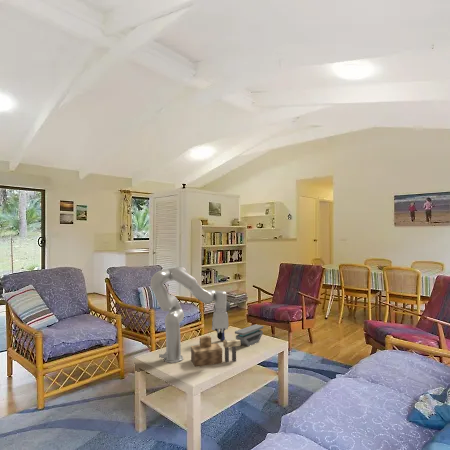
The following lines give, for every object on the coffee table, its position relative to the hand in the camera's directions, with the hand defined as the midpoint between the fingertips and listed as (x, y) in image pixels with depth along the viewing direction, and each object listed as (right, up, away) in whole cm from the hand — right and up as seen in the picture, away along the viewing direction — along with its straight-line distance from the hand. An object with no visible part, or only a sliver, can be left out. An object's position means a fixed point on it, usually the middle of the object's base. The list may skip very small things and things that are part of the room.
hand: (219, 338), depth 220 cm
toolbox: (-4, -15, +3) cm, 16 cm away
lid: (-9, -8, +1) cm, 12 cm away
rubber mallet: (+1, -16, +43) cm, 46 cm away
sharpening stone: (+22, -16, +37) cm, 46 cm away
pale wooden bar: (+8, -6, +2) cm, 10 cm away
